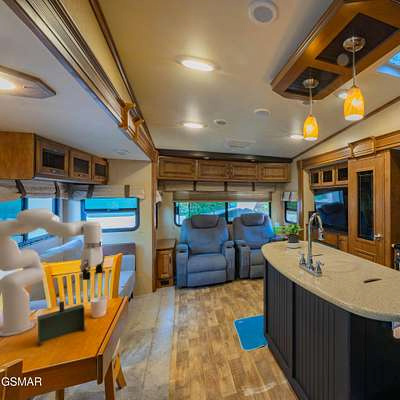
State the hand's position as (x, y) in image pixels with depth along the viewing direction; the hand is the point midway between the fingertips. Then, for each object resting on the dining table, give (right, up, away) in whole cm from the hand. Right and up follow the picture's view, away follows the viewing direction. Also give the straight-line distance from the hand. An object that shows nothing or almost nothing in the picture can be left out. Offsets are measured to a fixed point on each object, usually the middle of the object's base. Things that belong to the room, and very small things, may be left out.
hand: (93, 276), depth 133 cm
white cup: (-11, -29, +17) cm, 35 cm away
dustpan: (-12, -30, -5) cm, 33 cm away
